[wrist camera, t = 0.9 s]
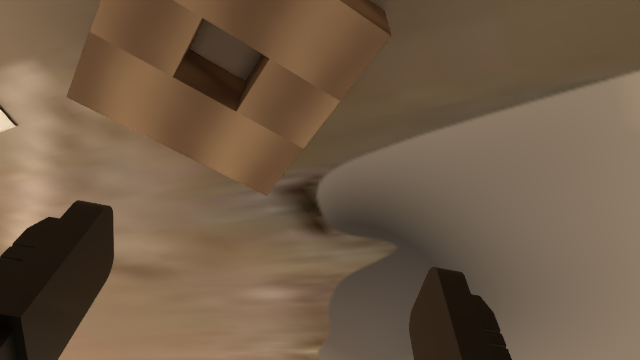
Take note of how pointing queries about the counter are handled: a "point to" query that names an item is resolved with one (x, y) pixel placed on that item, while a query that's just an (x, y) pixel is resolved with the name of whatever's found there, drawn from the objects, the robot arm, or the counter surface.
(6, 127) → the white flat notched panel
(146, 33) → the walnut block
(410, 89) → the counter surface
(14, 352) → the robot arm
